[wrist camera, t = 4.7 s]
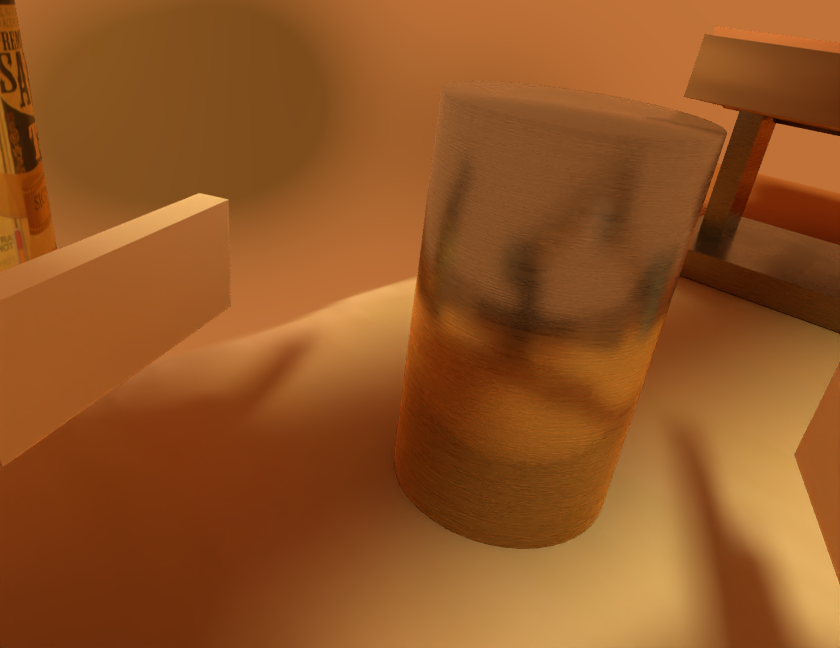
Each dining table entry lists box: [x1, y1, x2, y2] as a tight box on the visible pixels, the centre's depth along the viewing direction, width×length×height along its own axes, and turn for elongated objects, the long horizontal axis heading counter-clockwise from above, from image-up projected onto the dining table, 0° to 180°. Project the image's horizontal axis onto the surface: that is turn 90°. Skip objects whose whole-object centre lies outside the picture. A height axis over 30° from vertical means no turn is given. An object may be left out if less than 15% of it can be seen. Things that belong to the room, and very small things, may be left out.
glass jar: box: [394, 81, 727, 549], centre depth 16 cm, size 6×6×10 cm
